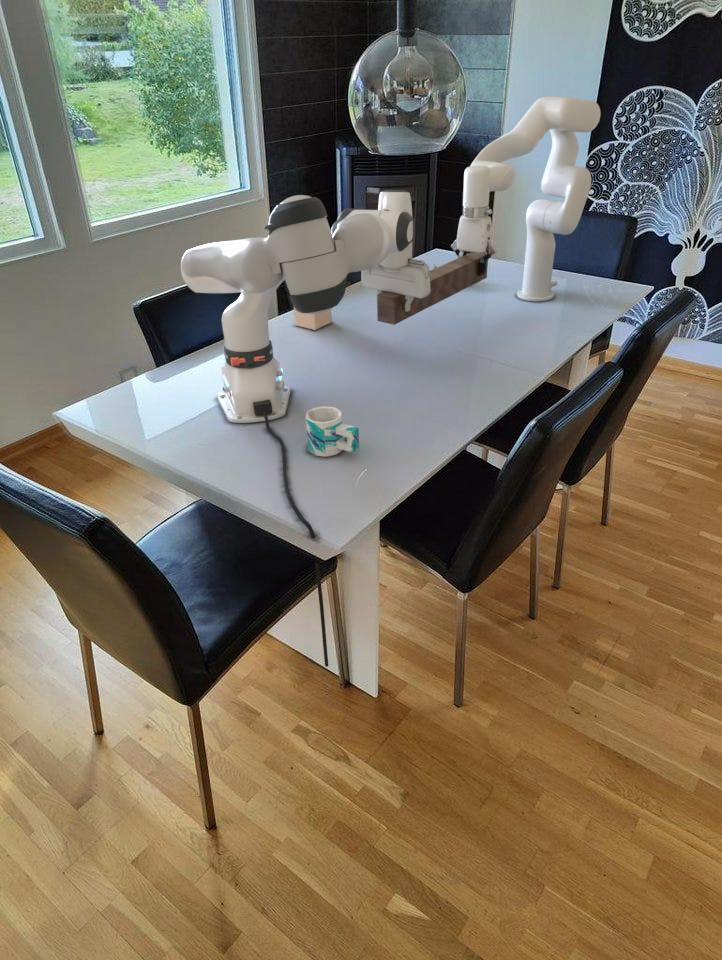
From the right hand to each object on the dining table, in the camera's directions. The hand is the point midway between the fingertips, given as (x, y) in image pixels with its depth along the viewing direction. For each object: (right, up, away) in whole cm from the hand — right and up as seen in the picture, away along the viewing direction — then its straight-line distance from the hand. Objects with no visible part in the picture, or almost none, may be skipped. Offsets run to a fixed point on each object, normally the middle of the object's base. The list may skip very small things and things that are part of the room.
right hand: (472, 272), depth 208 cm
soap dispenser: (-48, -14, +9) cm, 51 cm away
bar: (-12, -11, -12) cm, 21 cm away
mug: (-41, -58, -59) cm, 92 cm away
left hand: (-25, -18, -27) cm, 41 cm away
